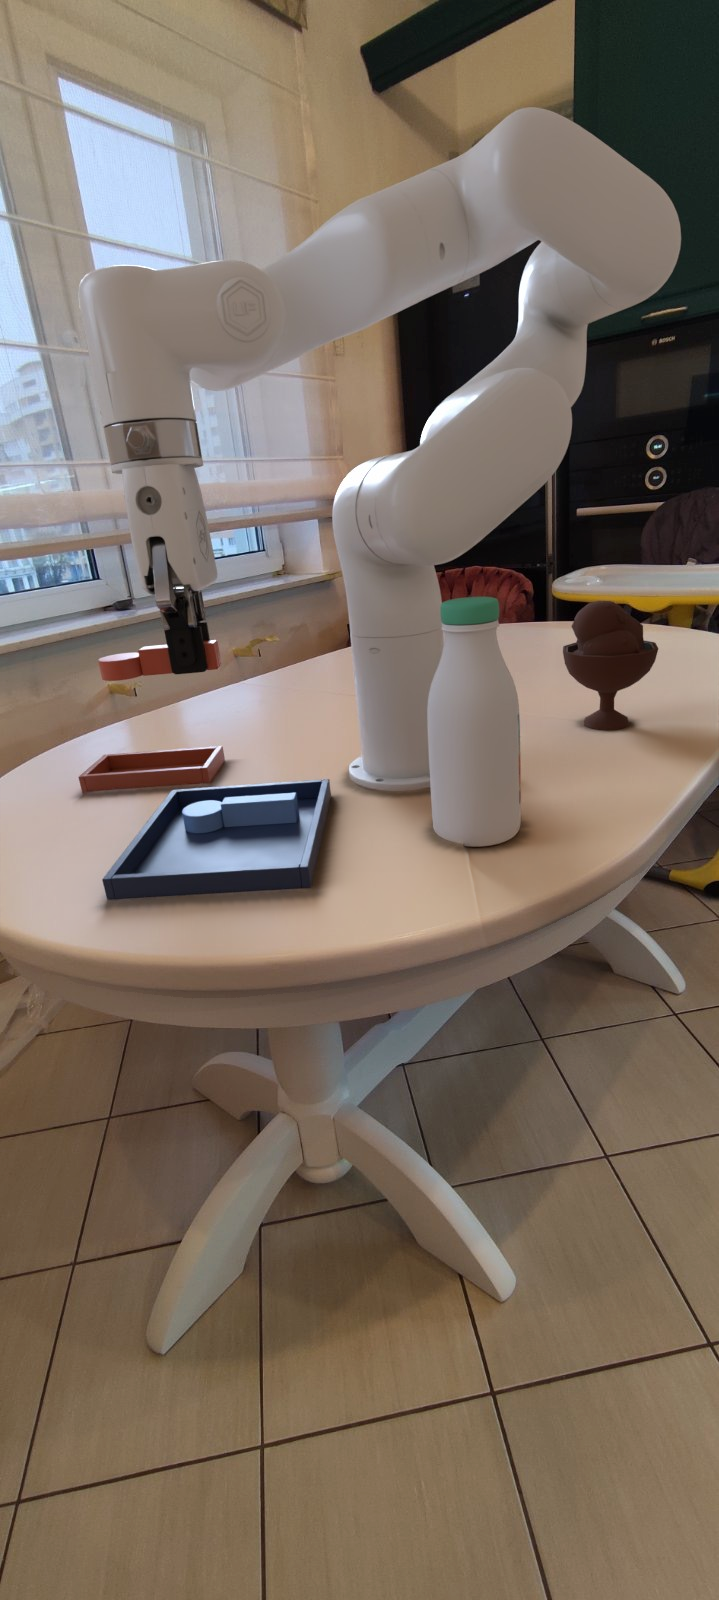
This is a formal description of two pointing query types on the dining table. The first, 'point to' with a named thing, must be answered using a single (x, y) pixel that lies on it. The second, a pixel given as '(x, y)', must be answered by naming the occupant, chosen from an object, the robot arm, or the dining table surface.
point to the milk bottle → (473, 730)
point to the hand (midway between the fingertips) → (193, 668)
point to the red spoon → (149, 662)
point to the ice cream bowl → (608, 657)
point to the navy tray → (222, 847)
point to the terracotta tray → (153, 769)
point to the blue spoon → (241, 812)
